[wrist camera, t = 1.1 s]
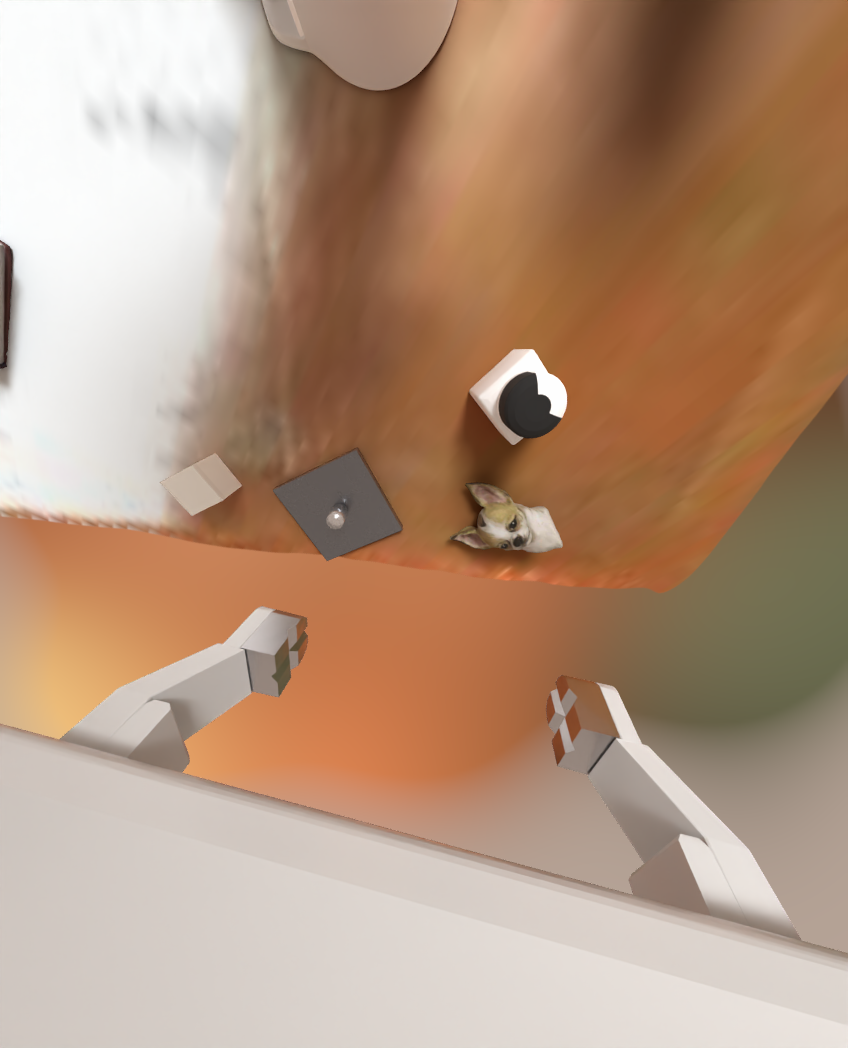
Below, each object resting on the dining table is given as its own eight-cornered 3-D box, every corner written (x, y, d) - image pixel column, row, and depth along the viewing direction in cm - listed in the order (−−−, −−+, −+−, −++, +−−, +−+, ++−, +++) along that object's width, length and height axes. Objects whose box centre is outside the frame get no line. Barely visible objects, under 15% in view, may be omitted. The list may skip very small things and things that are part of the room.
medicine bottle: (499, 432, 42) (526, 459, 32) (467, 390, 39) (485, 405, 29) (544, 395, 40) (589, 411, 29) (514, 347, 37) (551, 347, 27)
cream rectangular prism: (186, 468, 44) (159, 482, 39) (215, 452, 43) (191, 465, 38) (213, 499, 46) (191, 515, 42) (242, 485, 45) (222, 500, 41)
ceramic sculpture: (551, 583, 44) (450, 563, 43) (534, 550, 52) (448, 532, 51) (584, 519, 39) (470, 495, 38) (560, 493, 47) (465, 472, 46)
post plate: (275, 487, 45) (262, 500, 41) (357, 447, 43) (351, 457, 39) (328, 556, 52) (321, 574, 48) (402, 526, 49) (401, 541, 45)
